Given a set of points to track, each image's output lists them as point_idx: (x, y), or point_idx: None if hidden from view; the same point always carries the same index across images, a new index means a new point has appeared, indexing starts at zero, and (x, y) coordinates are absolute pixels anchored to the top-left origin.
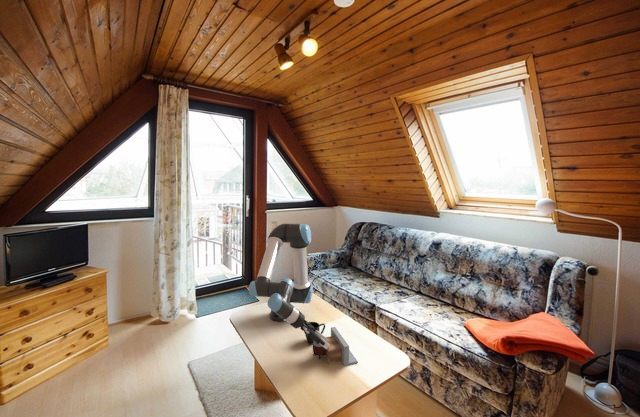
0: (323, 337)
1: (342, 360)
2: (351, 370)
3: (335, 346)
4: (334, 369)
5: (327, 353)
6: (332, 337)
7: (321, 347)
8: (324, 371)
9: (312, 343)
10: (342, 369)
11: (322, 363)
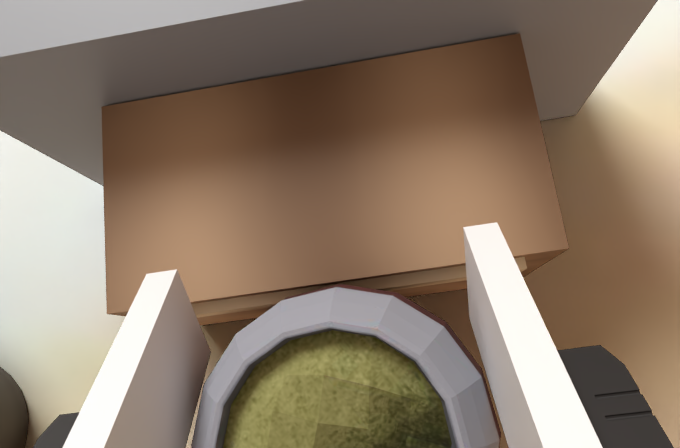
0: (176, 309)
1: None
2: (667, 50)
3: (434, 124)
4: (631, 248)
5: (407, 288)
6: (142, 124)
7: (496, 423)
8: (664, 392)
9: (22, 441)
10: (640, 149)
11: (486, 384)
